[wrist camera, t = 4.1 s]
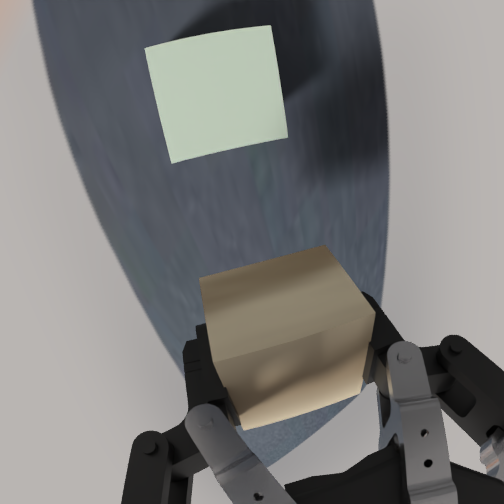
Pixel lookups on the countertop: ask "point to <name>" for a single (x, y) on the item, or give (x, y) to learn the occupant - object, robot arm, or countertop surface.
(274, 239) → the countertop surface
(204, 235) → the countertop surface
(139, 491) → the robot arm
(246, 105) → the sage block
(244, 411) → the maple block
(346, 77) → the countertop surface
